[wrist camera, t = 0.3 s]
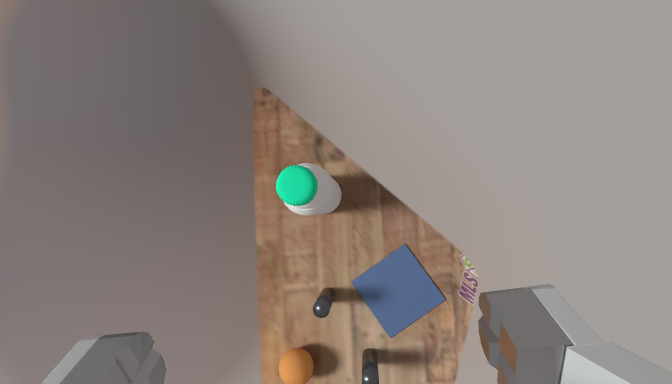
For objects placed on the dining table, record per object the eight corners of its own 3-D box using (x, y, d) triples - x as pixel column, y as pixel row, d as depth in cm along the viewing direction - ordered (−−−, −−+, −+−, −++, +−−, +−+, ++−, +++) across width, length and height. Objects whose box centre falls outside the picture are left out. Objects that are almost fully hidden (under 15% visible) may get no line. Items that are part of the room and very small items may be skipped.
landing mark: (445, 299, 59) (445, 299, 59) (390, 337, 59) (390, 338, 59) (404, 243, 60) (405, 244, 60) (351, 281, 61) (351, 282, 60)
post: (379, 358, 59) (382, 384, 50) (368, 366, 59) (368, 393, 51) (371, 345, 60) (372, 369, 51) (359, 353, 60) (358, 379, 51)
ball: (322, 364, 60) (317, 381, 54) (295, 382, 60) (288, 401, 54) (303, 336, 61) (296, 349, 55) (277, 354, 61) (267, 370, 55)
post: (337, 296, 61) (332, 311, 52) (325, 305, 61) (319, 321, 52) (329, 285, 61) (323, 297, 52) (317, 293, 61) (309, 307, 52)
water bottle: (348, 186, 62) (336, 170, 37) (331, 220, 62) (308, 227, 37) (314, 170, 62) (281, 143, 38) (298, 203, 62) (253, 198, 37)
